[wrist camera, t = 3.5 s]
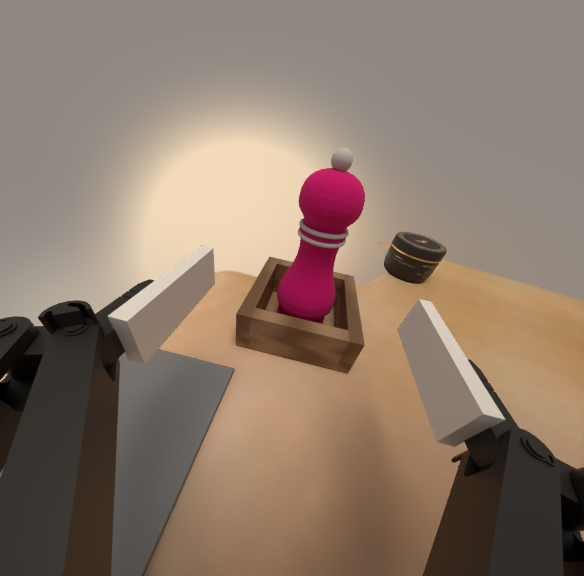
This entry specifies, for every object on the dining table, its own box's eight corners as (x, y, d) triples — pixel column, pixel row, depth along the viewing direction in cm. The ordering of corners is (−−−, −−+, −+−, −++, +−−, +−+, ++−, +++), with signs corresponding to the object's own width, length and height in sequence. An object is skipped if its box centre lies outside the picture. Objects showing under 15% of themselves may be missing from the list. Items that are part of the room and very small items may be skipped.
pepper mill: (280, 344, 25) (324, 143, 13) (268, 304, 30) (290, 136, 18) (333, 336, 27) (410, 161, 15) (312, 300, 32) (358, 150, 21)
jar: (434, 279, 46) (456, 248, 42) (412, 289, 41) (435, 255, 36) (395, 258, 52) (411, 229, 48) (372, 264, 47) (387, 232, 42)
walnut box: (343, 301, 33) (353, 276, 31) (347, 373, 23) (364, 345, 20) (266, 283, 34) (269, 256, 31) (236, 345, 23) (236, 313, 20)
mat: (234, 370, 21) (234, 368, 21) (133, 598, 10) (130, 599, 10) (114, 339, 21) (113, 337, 21) (-98, 527, 11) (-105, 527, 11)
